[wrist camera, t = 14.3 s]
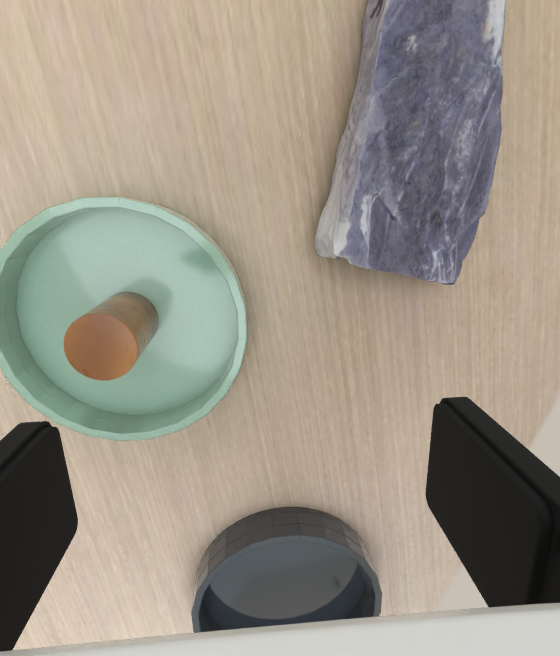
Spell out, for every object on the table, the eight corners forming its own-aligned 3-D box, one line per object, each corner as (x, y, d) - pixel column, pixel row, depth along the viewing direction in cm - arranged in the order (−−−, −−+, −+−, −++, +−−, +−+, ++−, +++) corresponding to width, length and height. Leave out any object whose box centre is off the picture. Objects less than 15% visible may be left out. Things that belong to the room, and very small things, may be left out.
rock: (445, 281, 30) (485, 295, 25) (306, 260, 28) (319, 270, 23) (561, -141, 23) (647, -235, 18) (385, -196, 22) (427, -313, 17)
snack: (168, 307, 28) (149, 333, 22) (145, 355, 29) (120, 392, 23) (113, 281, 27) (78, 301, 21) (91, 331, 28) (52, 363, 22)
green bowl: (285, 270, 28) (290, 278, 25) (188, 447, 32) (182, 473, 29) (62, 150, 25) (37, 141, 22) (-20, 363, 28) (-51, 382, 25)
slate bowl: (402, 543, 37) (417, 573, 34) (315, 660, 40) (321, 697, 37) (247, 481, 33) (248, 508, 30) (166, 615, 37) (160, 652, 34)
